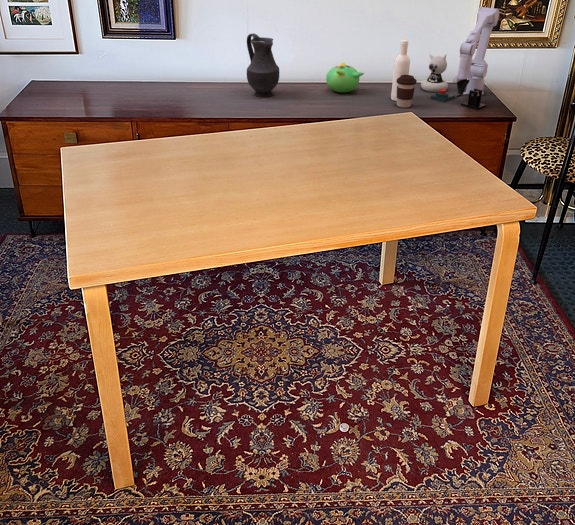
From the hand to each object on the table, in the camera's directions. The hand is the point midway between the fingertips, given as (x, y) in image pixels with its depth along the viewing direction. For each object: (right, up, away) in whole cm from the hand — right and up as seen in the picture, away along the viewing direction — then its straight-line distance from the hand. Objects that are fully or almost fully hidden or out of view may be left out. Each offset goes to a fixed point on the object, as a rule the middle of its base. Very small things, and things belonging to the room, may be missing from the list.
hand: (460, 93), depth 329 cm
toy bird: (-60, +5, +15) cm, 62 cm away
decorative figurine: (-9, +8, +22) cm, 25 cm away
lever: (+4, -2, -3) cm, 5 cm away
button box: (-7, -1, +8) cm, 11 cm away
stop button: (-8, +2, +5) cm, 10 cm away
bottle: (-31, -1, +6) cm, 32 cm away
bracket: (+6, -7, -3) cm, 10 cm away
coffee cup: (-30, -7, -4) cm, 31 cm away
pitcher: (-104, +2, +10) cm, 105 cm away
